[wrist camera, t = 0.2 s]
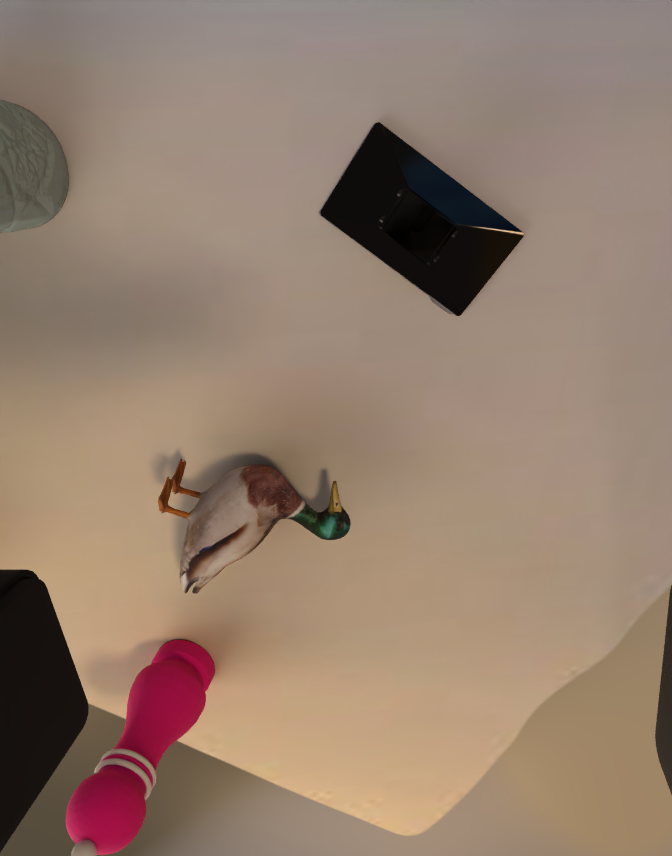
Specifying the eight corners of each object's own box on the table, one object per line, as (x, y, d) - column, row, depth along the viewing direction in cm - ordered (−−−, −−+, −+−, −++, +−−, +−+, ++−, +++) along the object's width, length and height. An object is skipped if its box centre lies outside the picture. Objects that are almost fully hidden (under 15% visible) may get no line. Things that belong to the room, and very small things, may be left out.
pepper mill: (168, 623, 60) (47, 818, 41) (231, 658, 60) (137, 866, 42) (143, 666, 63) (20, 866, 44) (203, 699, 63) (104, 911, 45)
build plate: (524, 233, 40) (534, 240, 36) (456, 319, 43) (458, 334, 39) (377, 120, 39) (369, 114, 35) (317, 216, 42) (304, 221, 38)
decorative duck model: (363, 516, 44) (302, 662, 49) (365, 470, 50) (311, 603, 56) (167, 451, 43) (128, 608, 48) (197, 413, 50) (159, 554, 55)
